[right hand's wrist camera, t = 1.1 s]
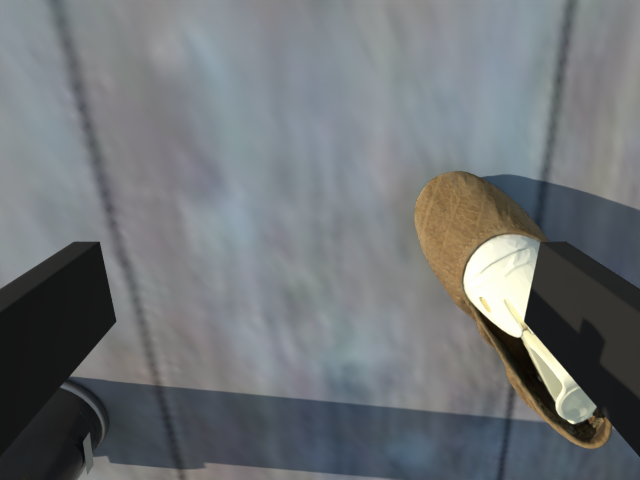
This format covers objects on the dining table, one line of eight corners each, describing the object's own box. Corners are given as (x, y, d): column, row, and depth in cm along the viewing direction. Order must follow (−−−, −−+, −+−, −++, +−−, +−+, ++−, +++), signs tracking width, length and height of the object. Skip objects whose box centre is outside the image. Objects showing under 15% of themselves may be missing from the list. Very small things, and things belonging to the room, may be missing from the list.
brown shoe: (495, 137, 29) (564, 159, 21) (597, 376, 36) (677, 462, 28) (391, 195, 30) (417, 237, 22) (509, 412, 38) (562, 504, 30)
